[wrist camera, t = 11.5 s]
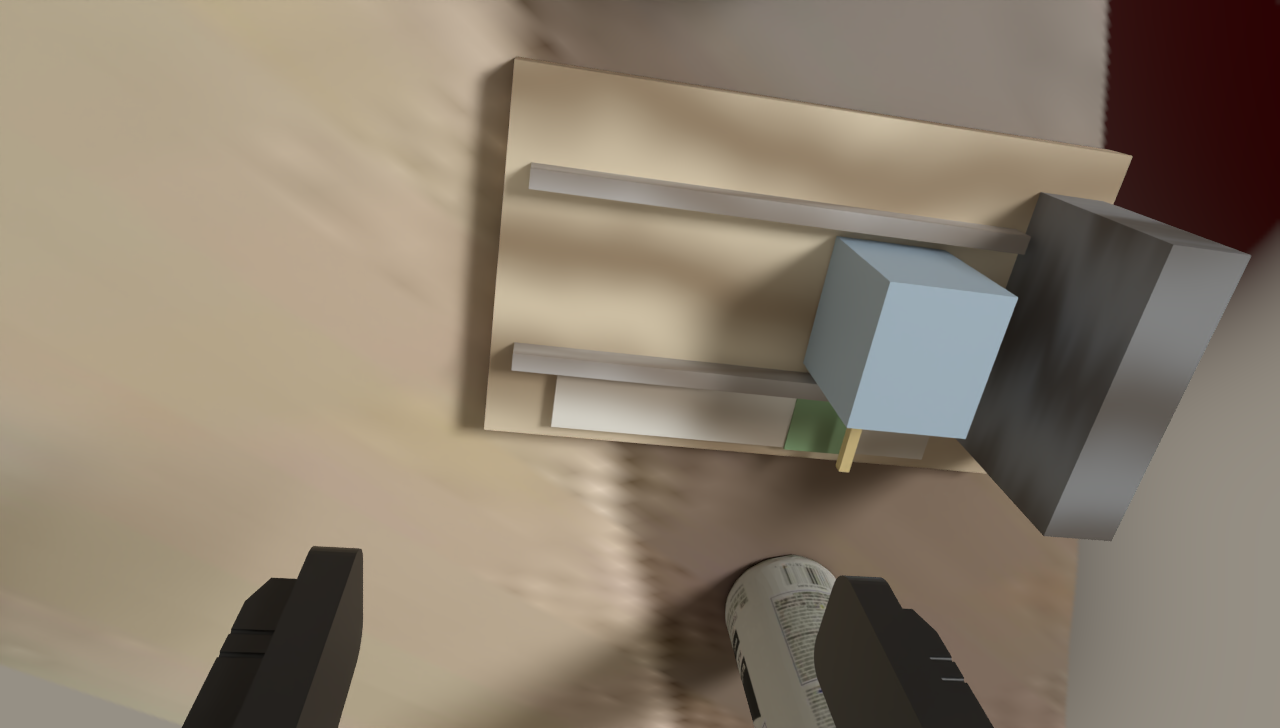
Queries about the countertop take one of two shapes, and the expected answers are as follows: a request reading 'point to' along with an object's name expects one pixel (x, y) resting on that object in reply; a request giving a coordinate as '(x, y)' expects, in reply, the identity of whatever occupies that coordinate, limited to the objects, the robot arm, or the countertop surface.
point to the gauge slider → (904, 340)
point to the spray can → (780, 640)
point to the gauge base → (795, 274)
